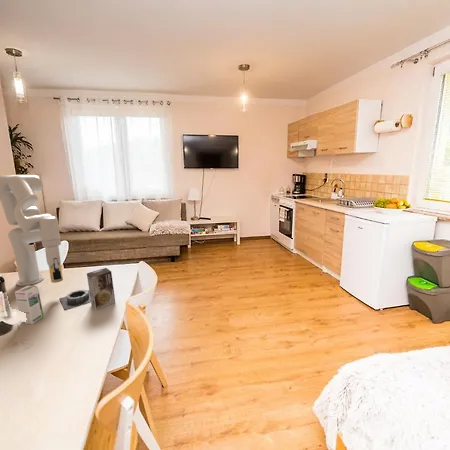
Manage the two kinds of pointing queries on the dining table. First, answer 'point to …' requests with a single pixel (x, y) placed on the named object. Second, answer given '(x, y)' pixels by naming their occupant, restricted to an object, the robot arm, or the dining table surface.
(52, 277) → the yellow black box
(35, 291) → the syrup box
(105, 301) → the coffee box
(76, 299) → the ring fixture
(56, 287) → the dining table surface
